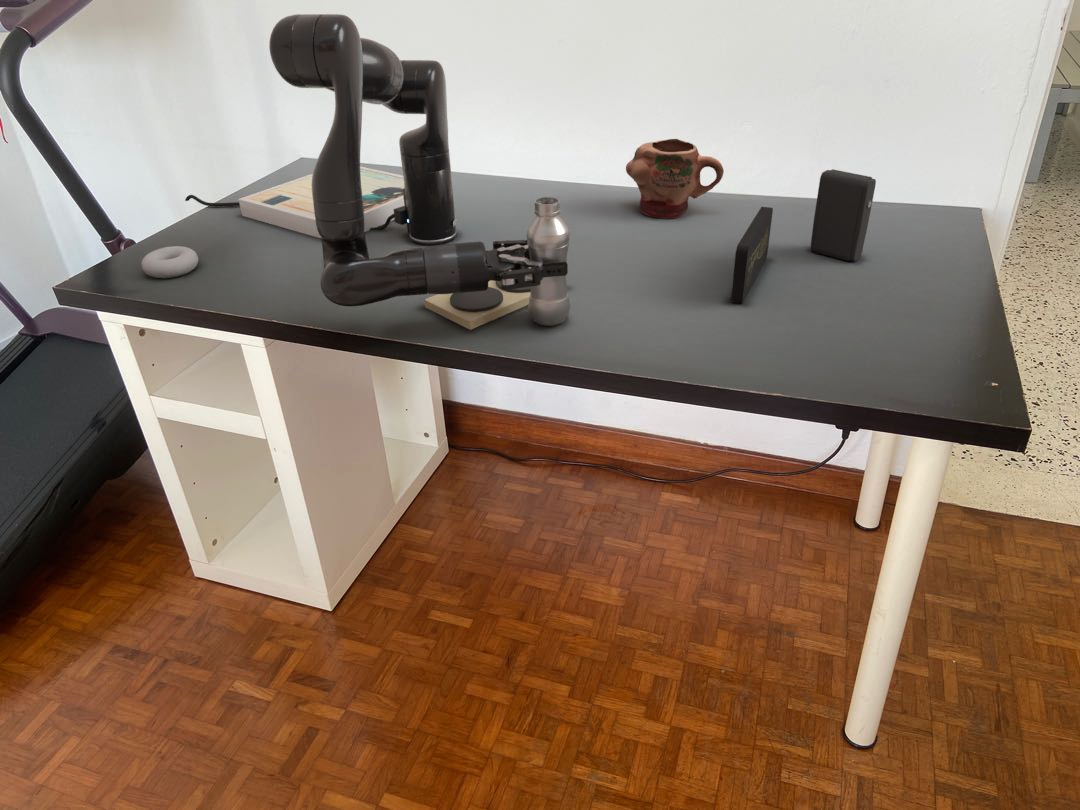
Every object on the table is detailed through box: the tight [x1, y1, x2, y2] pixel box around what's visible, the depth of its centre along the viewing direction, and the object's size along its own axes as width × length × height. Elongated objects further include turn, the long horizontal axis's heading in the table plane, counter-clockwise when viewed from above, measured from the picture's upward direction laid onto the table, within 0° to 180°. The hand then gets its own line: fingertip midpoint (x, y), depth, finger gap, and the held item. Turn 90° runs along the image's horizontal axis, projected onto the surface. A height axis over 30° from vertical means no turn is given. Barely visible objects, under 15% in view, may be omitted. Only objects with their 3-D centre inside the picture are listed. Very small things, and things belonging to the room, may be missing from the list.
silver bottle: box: [526, 196, 571, 327], centre depth 130 cm, size 6×7×20 cm
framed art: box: [238, 165, 405, 239], centre depth 184 cm, size 30×4×30 cm
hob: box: [424, 267, 531, 331], centre depth 143 cm, size 12×22×3 cm, turn 134°
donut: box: [141, 245, 199, 279], centre depth 157 cm, size 10×4×10 cm
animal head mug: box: [625, 138, 725, 219], centre depth 173 cm, size 20×12×14 cm, turn 77°
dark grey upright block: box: [810, 168, 877, 262], centre depth 151 cm, size 9×4×15 cm, turn 47°
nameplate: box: [730, 206, 774, 304], centre depth 144 cm, size 21×2×10 cm, turn 156°
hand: (563, 259), depth 130 cm, fingers closed on silver bottle, 6 cm apart
